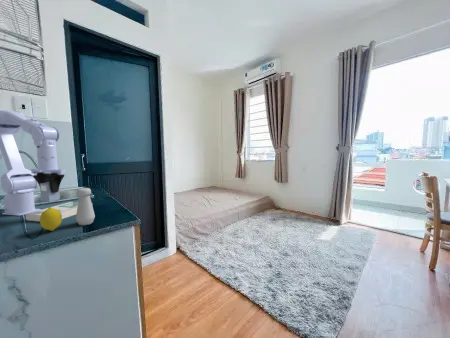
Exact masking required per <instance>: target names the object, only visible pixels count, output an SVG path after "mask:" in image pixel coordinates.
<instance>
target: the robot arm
mask: <svg viewBox="0 0 450 338" xmlns="http://www.w3.org/2000/svg"><path fill="white" fill-rule="evenodd" d="M21 129H22V130H23V131H24V132H25V133H26V134H29V135H30V136H31V138H32V140H33V144H34V146H35V147H36V157H37V158H36V159H37V166H38V167H37V168H31V169H27V168H25V165H24V162H23V159H22V157H21V154H20V151H19V148H18V145H17V143H16V140H15V138H14V134H17V133H19V131H20V130H21ZM59 139H60V132H59V130H58V128H56V127H55V126H47V125H46V124H45V123H42V122H40V121H39V120H38V119H37V118H32V117H31V118H27V117H26V116H25V115H24V113H23V112H21V111H18V110H17V111H16V110H7V109H1V108H0V153H1V155H2V159H3V161H4V164H5V167H6V168H7V171H6V172H5V173H3V174H2V175H1V176H0V181H1V182H0V183H1V184H0V185H1V186H0V187H1V189H2V191H4V192H5V193H6V194H5V195H4V197H3V206H4V207H3V208H4V212H2V214H1V215H8V216H24V215H26V214H27V213H31V212H35V211H38V210H42V209H41V208H36V207H35V196H34V192H35V191H36V189H37V188H38V187H40V183H47V182H49V184H50V190H51V192H52V193H55V192H58V190H59V191H60V186H61V184H62V180H63V179H64V177H65V175H67V169H66V168H59V166H58V153H57V142H58V140H59Z"/></svg>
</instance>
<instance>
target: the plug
mask: <svg viewBox="0 0 450 338" xmlns="http://www.w3.org/2000/svg"><path fill="white" fill-rule="evenodd" d="M39 189H40V200H41V202H43V203H44V202H47V203H50V202H54V201H55V202H56V201H59V200H61V194H60V189H59V190H58V192H55V193H52V192H51V190H50V184H49V182H47V183H40V186H39Z"/></svg>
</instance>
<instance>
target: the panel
mask: <svg viewBox="0 0 450 338" xmlns="http://www.w3.org/2000/svg"><path fill="white" fill-rule="evenodd" d="M51 207H52V208H55V209H57V210H59V211H60V213H61V215H62V220H63V219H66V218H70V217H72V216H76V213H77V207H78V201H69V202H65V203H61V204H57V205H54V206H51ZM92 207H93V204H92ZM48 208H49V207H45V208H43V209H41V210H38V211H35V212H31V213H27V214H25V220H26V221H31V222H32V221H33V222H40V216H41V214H42V213H43V212H44V211H45V210H47V209H48ZM93 208H94V207H93Z"/></svg>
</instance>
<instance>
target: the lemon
mask: <svg viewBox="0 0 450 338" xmlns="http://www.w3.org/2000/svg"><path fill="white" fill-rule="evenodd" d="M52 207H53V206H50V207H47V208H48V209H47V210H45V211H44V212H43V213H42V214H41V216H40V221H39V223H40V226H41V227H42V228H43V229H44V230H49V231H51V232H53V231H55V229H57V228H58V227H60V226H61V224H62V221H63V219H62V215H61V213H60V211H59V210H57V209H55V208H52Z"/></svg>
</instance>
